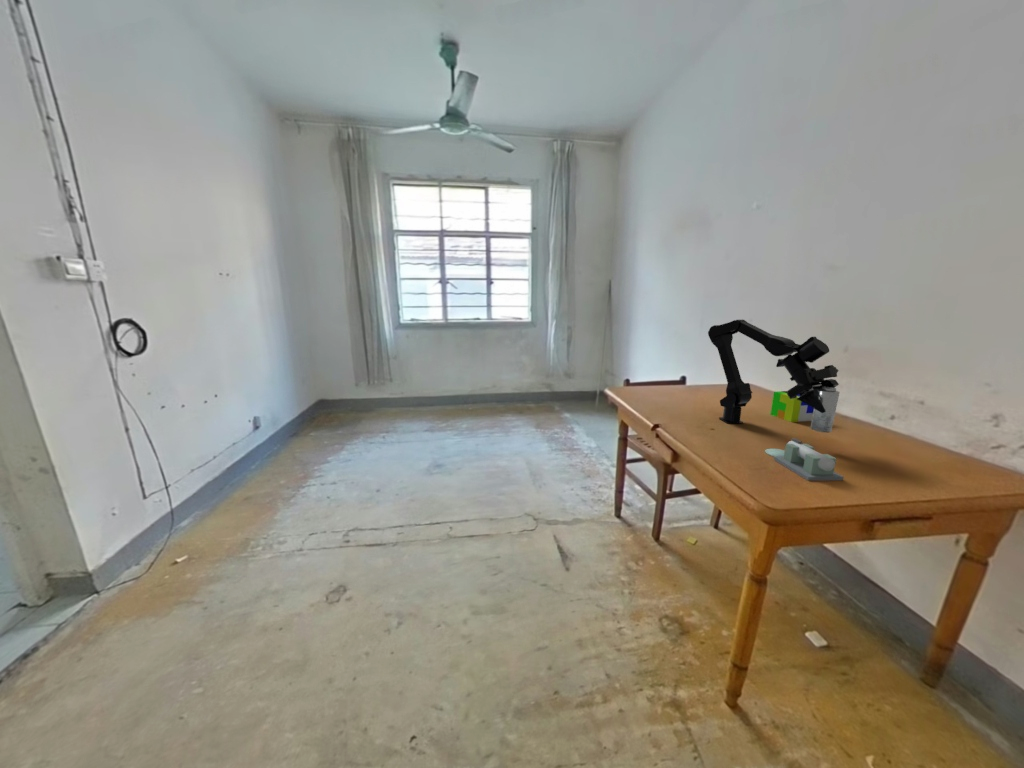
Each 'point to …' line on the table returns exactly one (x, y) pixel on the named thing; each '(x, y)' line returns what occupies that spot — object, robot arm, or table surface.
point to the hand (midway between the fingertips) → (829, 411)
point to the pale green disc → (775, 452)
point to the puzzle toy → (790, 408)
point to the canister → (829, 402)
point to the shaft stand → (808, 462)
